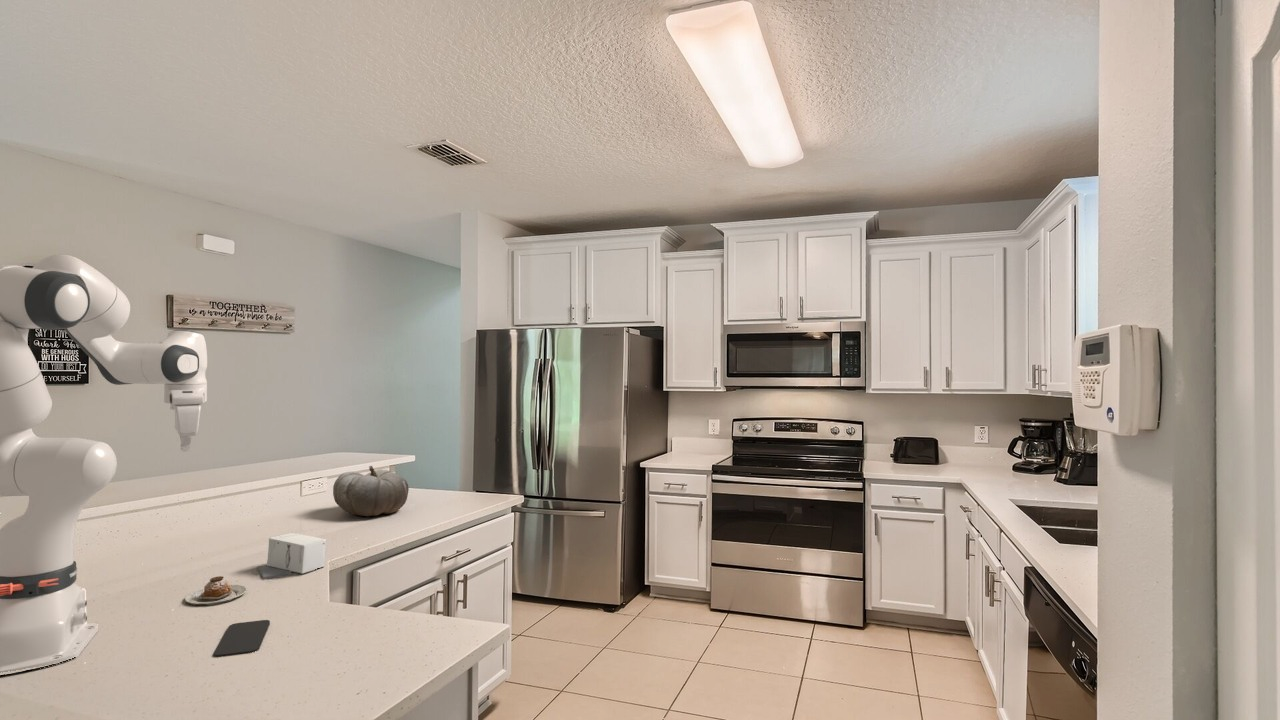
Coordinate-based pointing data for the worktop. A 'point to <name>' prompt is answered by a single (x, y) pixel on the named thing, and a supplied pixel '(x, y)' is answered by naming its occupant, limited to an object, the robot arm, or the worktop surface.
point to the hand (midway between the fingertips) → (185, 450)
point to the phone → (242, 638)
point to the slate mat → (272, 572)
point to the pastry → (215, 592)
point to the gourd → (370, 492)
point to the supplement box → (296, 552)
